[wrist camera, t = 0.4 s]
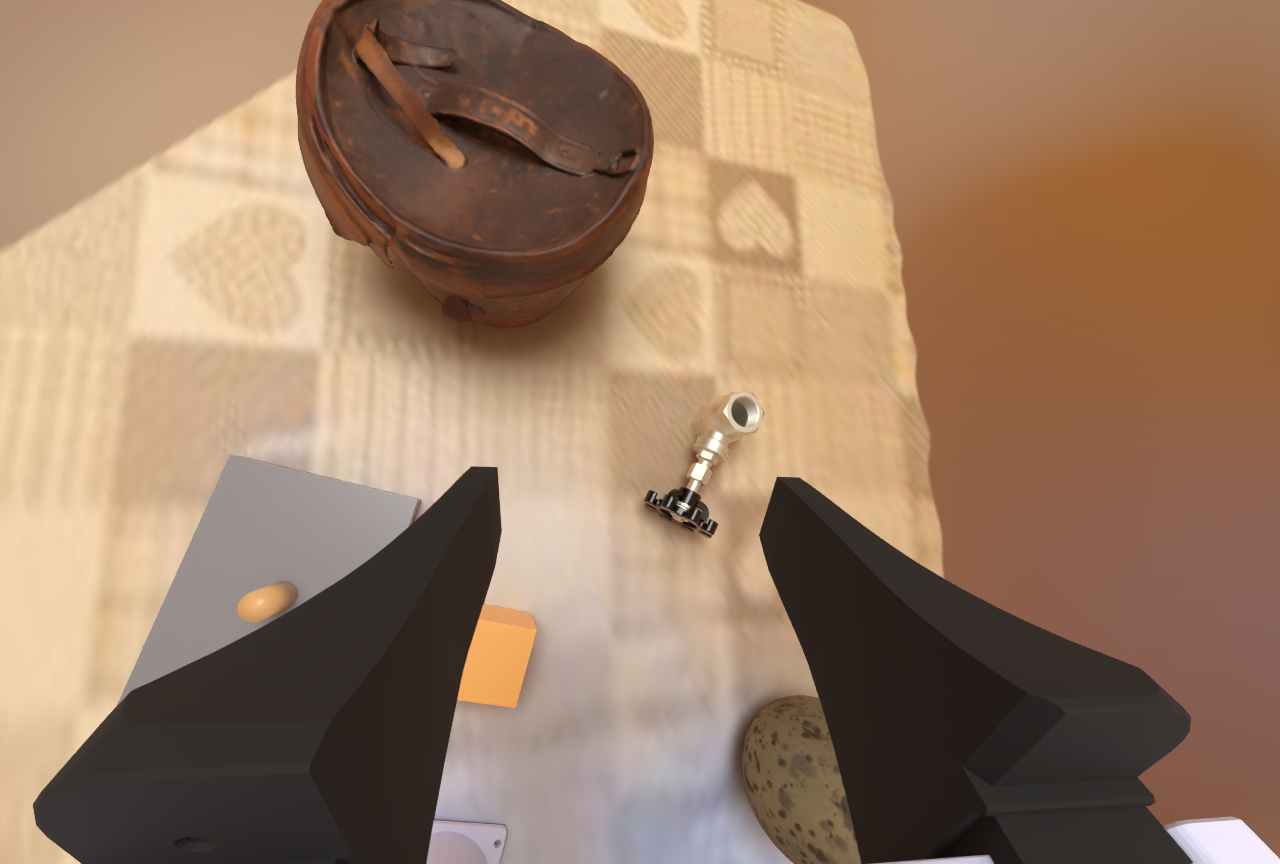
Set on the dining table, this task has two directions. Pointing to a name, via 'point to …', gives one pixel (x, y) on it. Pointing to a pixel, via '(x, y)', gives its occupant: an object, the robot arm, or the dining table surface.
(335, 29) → the brown tapered pot
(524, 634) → the light orange cube
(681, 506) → the valve
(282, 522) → the plate
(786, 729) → the decorative egg
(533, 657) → the dining table surface
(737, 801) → the dining table surface
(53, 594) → the dining table surface
